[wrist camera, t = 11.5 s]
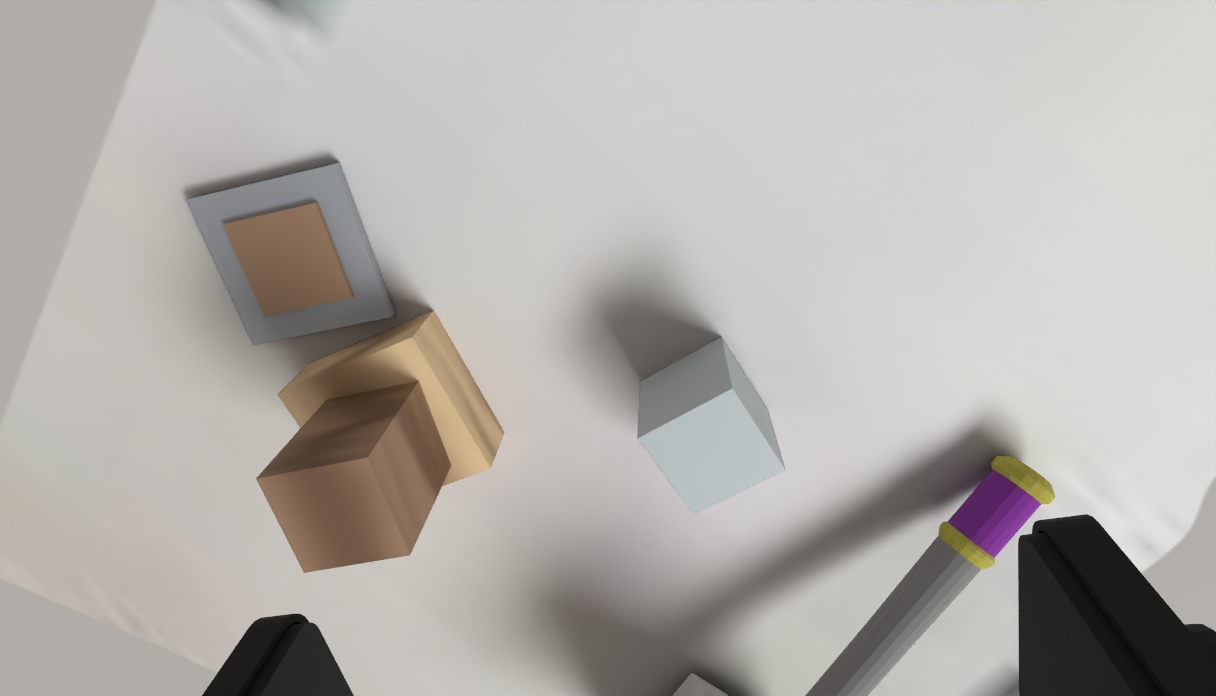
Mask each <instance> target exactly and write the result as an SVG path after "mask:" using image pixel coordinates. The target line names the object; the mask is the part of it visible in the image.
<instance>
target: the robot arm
mask: <svg viewBox="0 0 1216 696" xmlns="http://www.w3.org/2000/svg"><path fill="white" fill-rule="evenodd" d="M1018 579H1019V694H1020V696H1216V632H1215V631H1214V630H1212V629H1210V628H1208V627H1206V626H1205V625H1203V624H1188V625H1184V624H1183V623H1182V621H1181V620H1180V619H1179V618H1178V617H1177V615H1176V614H1175V613H1174V612H1173V611H1172V610H1171V608H1170V607H1169V606H1168V605H1167V604H1166V602H1165V601H1164V600H1163V599H1162V598H1161V597H1160V595H1159V594H1158V593H1157V592H1156V590H1155V589H1154V588H1153V587H1152V586H1151V584H1150V583H1149V582H1148V581H1147V580H1146V579H1145V577H1144V576H1143V575H1142V574H1141V573H1140V571H1139V570H1138V569H1137V568H1136V567H1135V565H1134V564H1133V563H1132V562H1131V561H1130V559H1129V558H1128V557H1127V556H1126V555H1125V553H1124V552H1123V551H1122V550H1121V549H1120V548H1119V546H1118V545H1117V544H1116V543H1115V542H1114V540H1113V539H1112V538H1111V537H1110V536H1109V534H1108V533H1107V532H1106V531H1105V530H1104V528H1103V527H1102V526H1101V525H1100V524H1099V522H1097V521H1096V520H1095V519H1094V518H1093V517H1092V516H1090V515H1087V514H1086V515H1078V516H1070V517H1062V518H1054V519H1046V520H1039V521H1036V522H1035V523H1034V525H1033V529H1032V534H1028V535H1022V536H1020V538H1019V543H1018ZM202 696H354V695H353V694H352V692H351V690H350V688H349V686H348V684H347V682H346V680H345V678H344V676H343V674H342V672H341V670H340V668H339V667H338V665H337V663H336V661H335V659H334V657H333V655H332V653H331V651H330V649H329V647H328V645H327V643H326V641H325V639H324V638H323V636H322V634H321V632H320V630H319V628H318V627H317V626H316V625H315V624H314V623H309V621H308V620H307V619H306V617H305V616H303V615H301V614H289V615H281V616H273V617H265V618H260V619H258V620H256V621H255V622H254V623H253V624H252V625H251V626H250V627H249V628H248V630H247V631H246V633H245V634H244V636H243V637H242V639H241V640H240V641H239V643H238V644H237V646H236V647H235V649H234V650H233V652H232V653H231V654H230V656H229V657H228V659H227V660H226V662H225V663H224V665H223V666H222V668H221V669H220V670H219V672H218V673H217V675H216V676H215V678H214V679H213V681H212V682H211V683H210V685H209V686H208V688H207V689H206V691H205V692H204V694H203V695H202Z"/></svg>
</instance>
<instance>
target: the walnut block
mask: <svg viewBox="0 0 1216 696" xmlns="http://www.w3.org/2000/svg"><path fill="white" fill-rule="evenodd" d="M450 468H451V463H450V461H449V458H448V455H447V453H446V450H445V448H444V445H443V442H442V440H441V437H440V435H439V432H438V429H437V427H436V424H435V421H434V419H433V416H432V414H431V411H430V408H429V406H428V403H427V401H426V398H425V395H424V393H423V390H422V388H421V385H420V382H419V381H416V382H411V383H406V384H401V385H396V386H392V387H387V388H382V389H377V390H372V391H367V392H362V393H357V394H352V395H347V396H342V397H337V398H332V399H328V400H326V401H325V402H324V403H323V404H322V405H321V406H320V407H319V408H318V410H317V411H316V412H315V413H314V414H313V415H312V416H311V417H310V419H309V420H308V421H307V422H306V423H305V424H304V425H303V426H302V428H301V429H300V430H299V431H298V432H297V433H296V434H295V435H294V437H293V438H292V439H291V440H290V441H289V442H288V443H287V445H286V446H285V447H284V448H283V449H282V450H281V451H280V452H279V454H278V455H277V456H276V457H275V458H274V459H273V460H272V461H271V463H270V464H269V465H268V466H267V467H266V468H265V469H264V470H263V472H262V473H261V474H260V475H259V476H258V477H257V478H256V479H257V481H258V483H259V485H260V487H261V489H262V491H263V493H264V495H265V497H266V499H267V501H268V503H269V505H270V507H271V509H272V511H273V513H274V515H275V517H276V519H277V521H278V522H279V524H280V526H281V528H282V530H283V532H284V534H285V536H286V538H287V540H288V542H289V544H290V546H291V548H292V550H293V552H294V554H295V556H296V558H297V560H298V562H299V564H300V566H301V568H302V570H303V572H304V573H305V572H311V571H318V570H324V569H330V568H336V567H342V566H348V565H354V564H360V563H366V562H372V561H378V560H384V559H390V558H396V557H402V556H408V555H410V554H411V552H412V549H413V547H414V545H415V543H416V541H417V539H418V537H419V534H420V532H421V530H422V528H423V526H424V524H425V521H426V519H427V517H428V515H429V513H430V511H431V509H432V506H433V504H434V502H435V500H436V498H437V496H438V494H439V491H440V489H441V487H442V485H443V483H444V481H445V478H446V476H447V474H448V472H449V470H450Z"/></svg>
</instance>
